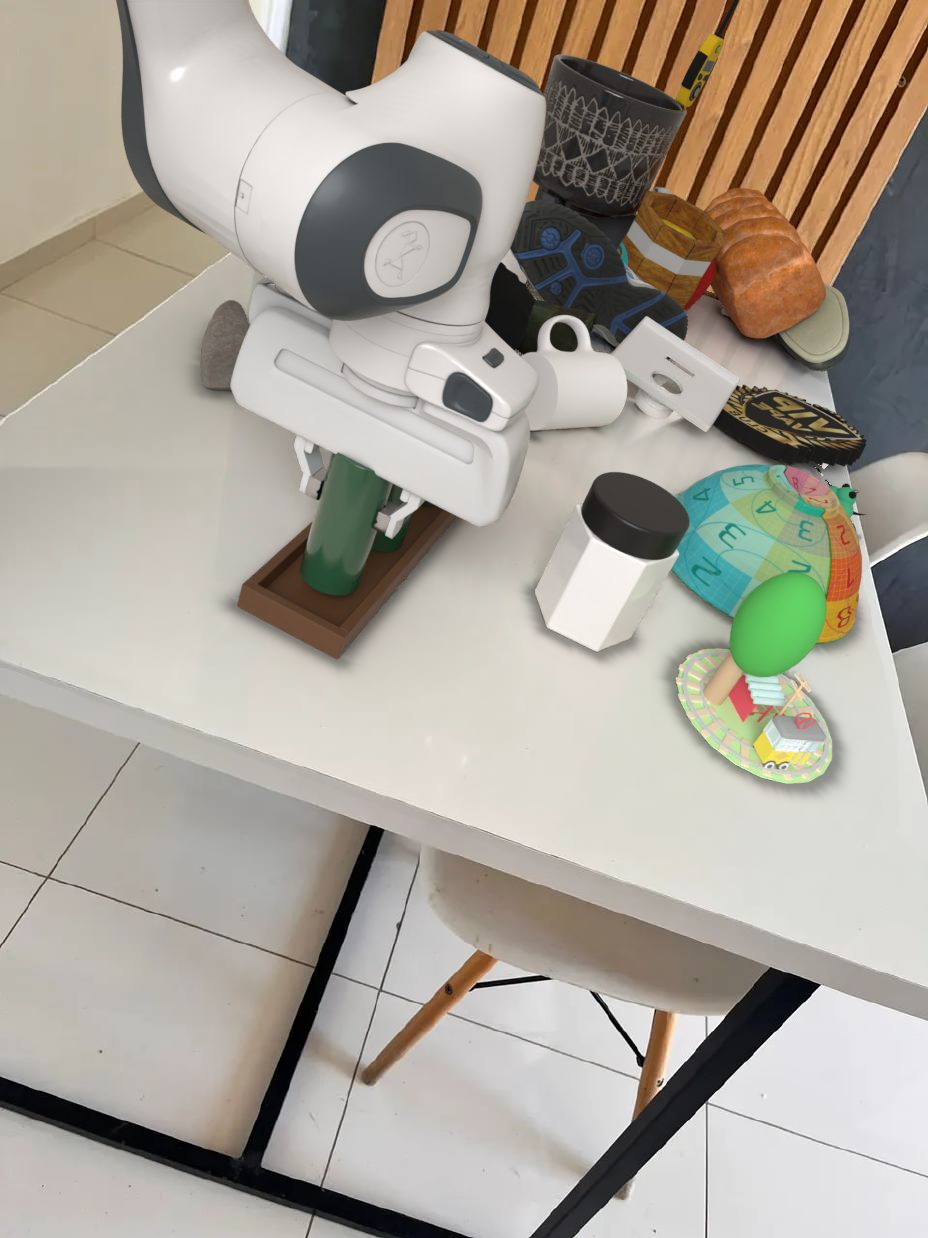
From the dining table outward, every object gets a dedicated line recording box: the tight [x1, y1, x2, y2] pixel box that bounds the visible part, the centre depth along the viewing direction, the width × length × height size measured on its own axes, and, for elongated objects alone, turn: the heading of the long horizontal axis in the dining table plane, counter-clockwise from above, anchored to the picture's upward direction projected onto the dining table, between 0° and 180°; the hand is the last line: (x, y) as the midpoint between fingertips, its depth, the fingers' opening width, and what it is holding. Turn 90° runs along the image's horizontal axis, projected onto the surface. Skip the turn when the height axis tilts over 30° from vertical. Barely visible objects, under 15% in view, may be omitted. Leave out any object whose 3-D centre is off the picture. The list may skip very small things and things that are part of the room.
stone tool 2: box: [485, 262, 535, 352], centre depth 107 cm, size 12×4×25 cm
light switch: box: [609, 316, 741, 433], centre depth 120 cm, size 15×6×14 cm
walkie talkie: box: [675, 0, 740, 108], centre depth 129 cm, size 5×2×15 cm, turn 146°
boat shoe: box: [774, 281, 850, 373], centre depth 152 cm, size 10×29×10 cm
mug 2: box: [617, 186, 726, 308], centre depth 139 cm, size 20×14×15 cm
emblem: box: [713, 384, 867, 468], centre depth 124 cm, size 19×2×20 cm
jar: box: [534, 471, 690, 653], centre depth 78 cm, size 9×8×12 cm
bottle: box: [300, 452, 393, 596], centre depth 67 cm, size 5×5×15 cm
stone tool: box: [199, 299, 250, 391], centre depth 94 cm, size 17×4×5 cm
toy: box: [813, 465, 868, 531], centre depth 113 cm, size 13×5×10 cm
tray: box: [236, 506, 458, 660], centre depth 79 cm, size 30×8×2 cm, turn 159°
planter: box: [532, 53, 688, 249], centre depth 139 cm, size 20×20×26 cm
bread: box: [703, 187, 826, 340], centre depth 150 cm, size 14×26×16 cm
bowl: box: [670, 463, 863, 644], centre depth 94 cm, size 22×22×10 cm
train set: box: [675, 572, 833, 785], centre depth 75 cm, size 15×14×14 cm
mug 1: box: [520, 315, 628, 432], centre depth 105 cm, size 12×8×10 cm
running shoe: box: [510, 199, 689, 361], centre depth 125 cm, size 11×30×12 cm
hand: (349, 512), depth 68 cm, fingers closed on bottle, 4 cm apart
